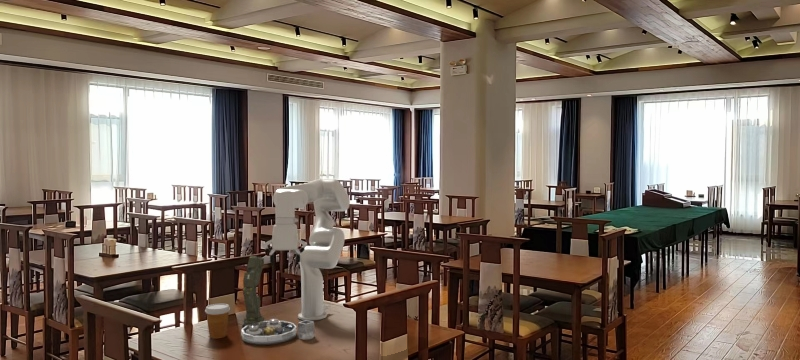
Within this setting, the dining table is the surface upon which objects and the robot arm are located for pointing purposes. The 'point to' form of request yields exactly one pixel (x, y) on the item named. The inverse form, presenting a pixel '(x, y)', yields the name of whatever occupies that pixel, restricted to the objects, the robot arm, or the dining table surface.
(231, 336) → the dining table surface
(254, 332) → the tray
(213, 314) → the disposable coffee cup
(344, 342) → the dining table surface
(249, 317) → the mechanical leg
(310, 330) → the grey hollow boxy piece
